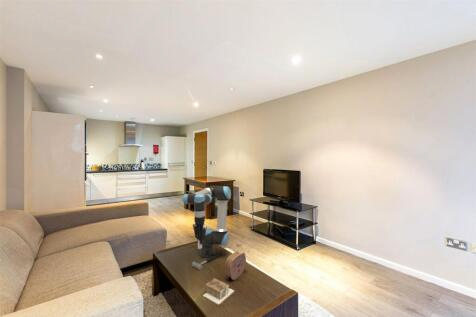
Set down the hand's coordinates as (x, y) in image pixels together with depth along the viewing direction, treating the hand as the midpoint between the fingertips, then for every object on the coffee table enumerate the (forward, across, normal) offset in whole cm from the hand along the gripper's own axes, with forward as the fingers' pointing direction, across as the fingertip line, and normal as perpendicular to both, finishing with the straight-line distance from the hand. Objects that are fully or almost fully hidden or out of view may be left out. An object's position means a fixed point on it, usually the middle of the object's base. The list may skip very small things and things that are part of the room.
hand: (199, 248), depth 151 cm
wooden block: (+23, +10, 0) cm, 25 cm away
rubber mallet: (+27, -17, +27) cm, 42 cm away
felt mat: (+26, +18, 0) cm, 32 cm away
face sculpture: (+27, +15, +24) cm, 39 cm away
